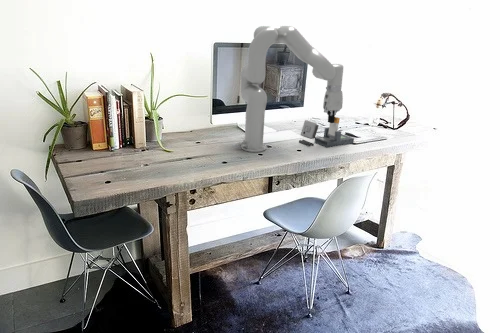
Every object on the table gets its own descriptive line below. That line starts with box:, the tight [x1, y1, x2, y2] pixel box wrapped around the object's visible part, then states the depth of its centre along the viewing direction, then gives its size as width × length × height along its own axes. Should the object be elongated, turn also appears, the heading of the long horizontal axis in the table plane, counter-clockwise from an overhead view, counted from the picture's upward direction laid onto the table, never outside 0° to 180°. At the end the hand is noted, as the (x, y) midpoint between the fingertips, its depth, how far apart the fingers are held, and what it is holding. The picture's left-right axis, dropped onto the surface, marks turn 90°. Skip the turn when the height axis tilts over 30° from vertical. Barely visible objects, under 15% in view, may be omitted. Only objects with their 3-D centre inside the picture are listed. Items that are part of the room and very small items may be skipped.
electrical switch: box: [300, 119, 320, 139], centre depth 225 cm, size 9×5×9 cm, turn 35°
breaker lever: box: [327, 116, 341, 139], centre depth 211 cm, size 2×6×12 cm, turn 32°
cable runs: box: [298, 139, 315, 147], centre depth 211 cm, size 4×9×1 cm, turn 32°
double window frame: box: [313, 126, 355, 149], centre depth 214 cm, size 20×10×8 cm, turn 122°
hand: (330, 122), depth 209 cm, fingers closed
